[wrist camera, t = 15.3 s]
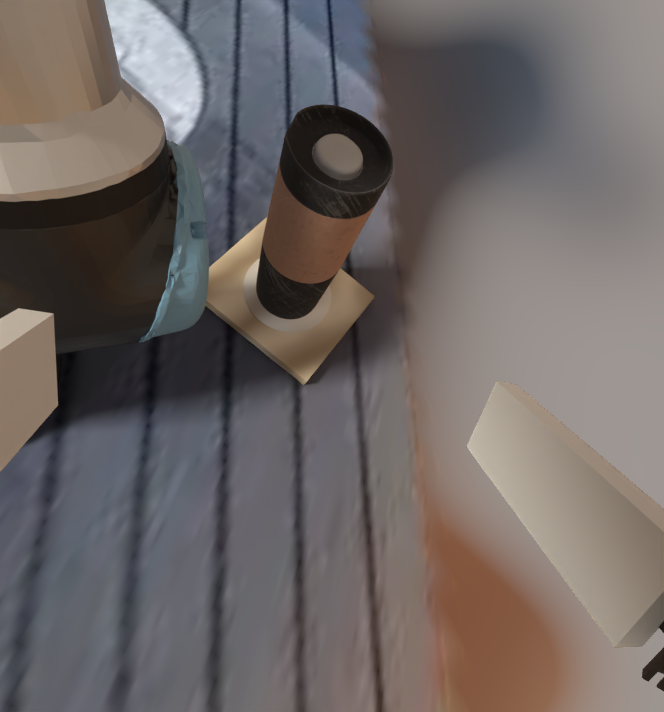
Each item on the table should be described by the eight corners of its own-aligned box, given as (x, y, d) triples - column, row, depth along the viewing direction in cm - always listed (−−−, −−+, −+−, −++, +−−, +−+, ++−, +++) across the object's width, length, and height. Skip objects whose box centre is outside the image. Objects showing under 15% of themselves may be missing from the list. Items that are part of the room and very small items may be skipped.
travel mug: (331, 309, 44) (415, 183, 26) (271, 331, 41) (317, 206, 23) (302, 254, 45) (362, 97, 27) (241, 271, 42) (264, 108, 24)
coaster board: (189, 292, 42) (188, 285, 40) (270, 220, 48) (272, 211, 46) (303, 385, 42) (307, 381, 41) (370, 302, 48) (375, 295, 47)
